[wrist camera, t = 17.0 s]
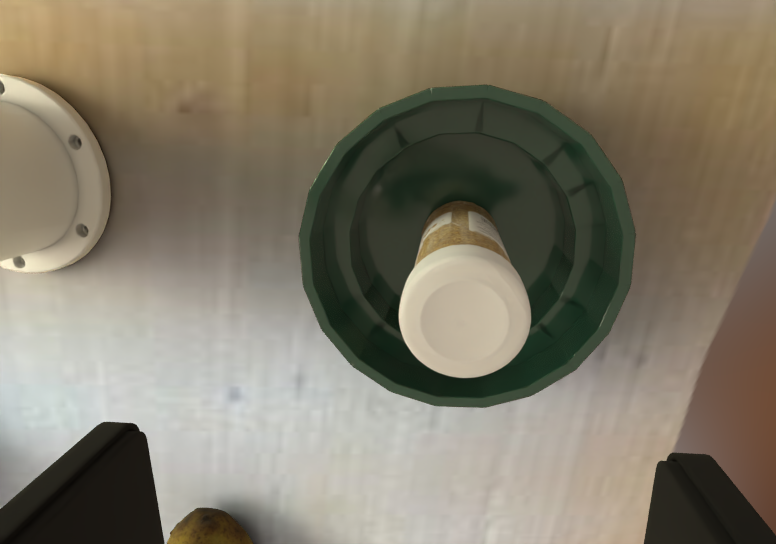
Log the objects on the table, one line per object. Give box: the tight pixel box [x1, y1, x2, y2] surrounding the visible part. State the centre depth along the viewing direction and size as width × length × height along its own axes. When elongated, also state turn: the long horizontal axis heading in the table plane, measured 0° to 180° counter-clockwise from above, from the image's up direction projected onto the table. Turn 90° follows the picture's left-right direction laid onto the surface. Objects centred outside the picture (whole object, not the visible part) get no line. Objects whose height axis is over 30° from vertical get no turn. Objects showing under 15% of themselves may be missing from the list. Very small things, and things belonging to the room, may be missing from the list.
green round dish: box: [299, 85, 636, 408], centre depth 27 cm, size 16×16×6 cm
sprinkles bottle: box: [399, 201, 531, 378], centre depth 23 cm, size 5×5×13 cm
